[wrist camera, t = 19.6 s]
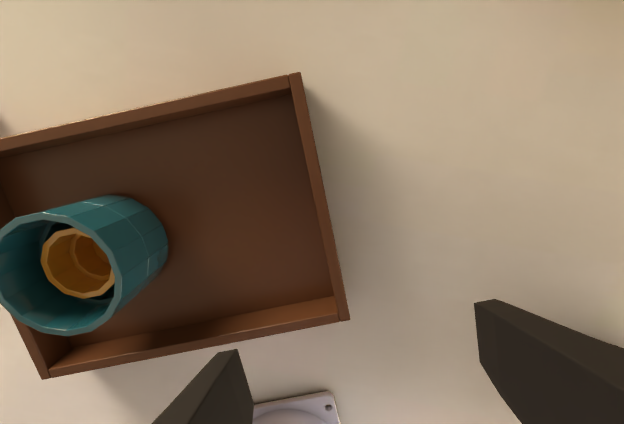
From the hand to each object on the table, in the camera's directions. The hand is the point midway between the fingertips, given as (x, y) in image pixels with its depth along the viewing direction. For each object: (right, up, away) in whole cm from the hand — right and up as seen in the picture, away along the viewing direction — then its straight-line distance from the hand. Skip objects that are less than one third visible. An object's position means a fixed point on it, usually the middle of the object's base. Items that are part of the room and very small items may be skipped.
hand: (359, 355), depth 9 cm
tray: (-10, +3, +9) cm, 14 cm away
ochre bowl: (-12, +3, +8) cm, 15 cm away
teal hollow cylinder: (-13, +3, +9) cm, 16 cm away
